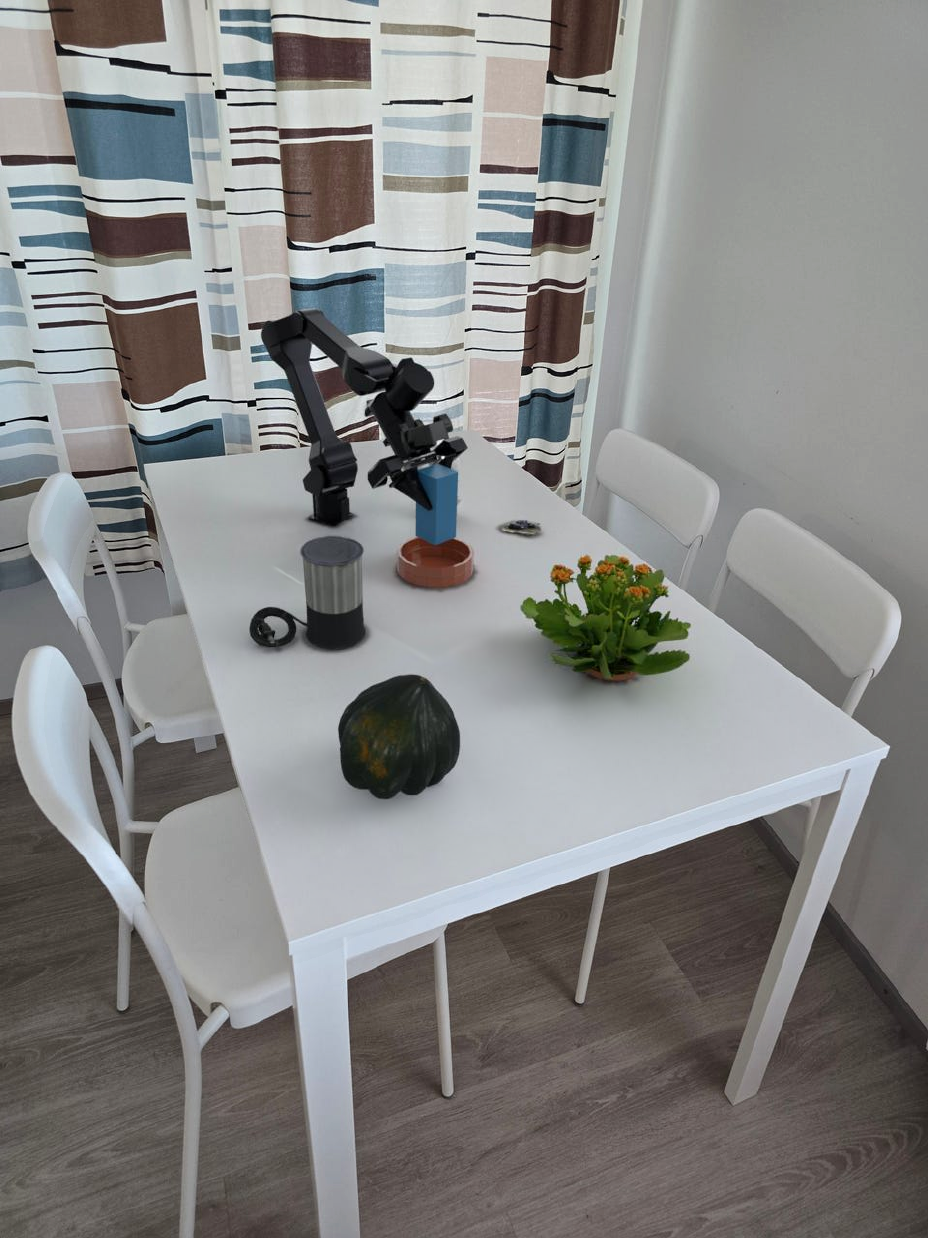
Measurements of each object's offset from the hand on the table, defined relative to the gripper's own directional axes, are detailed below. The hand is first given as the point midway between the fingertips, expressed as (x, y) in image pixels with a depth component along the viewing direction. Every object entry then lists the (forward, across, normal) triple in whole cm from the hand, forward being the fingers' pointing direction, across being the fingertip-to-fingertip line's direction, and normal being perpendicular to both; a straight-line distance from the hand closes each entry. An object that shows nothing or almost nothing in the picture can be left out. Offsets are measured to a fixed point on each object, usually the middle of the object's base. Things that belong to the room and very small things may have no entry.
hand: (442, 505), depth 144 cm
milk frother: (+10, -29, +8) cm, 32 cm away
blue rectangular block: (+4, 0, +5) cm, 6 cm away
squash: (+34, -40, -15) cm, 54 cm away
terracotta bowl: (+8, 0, +10) cm, 13 cm away
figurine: (-4, +18, +23) cm, 30 cm away
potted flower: (+36, -1, -18) cm, 40 cm away
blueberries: (+8, +24, +11) cm, 28 cm away
